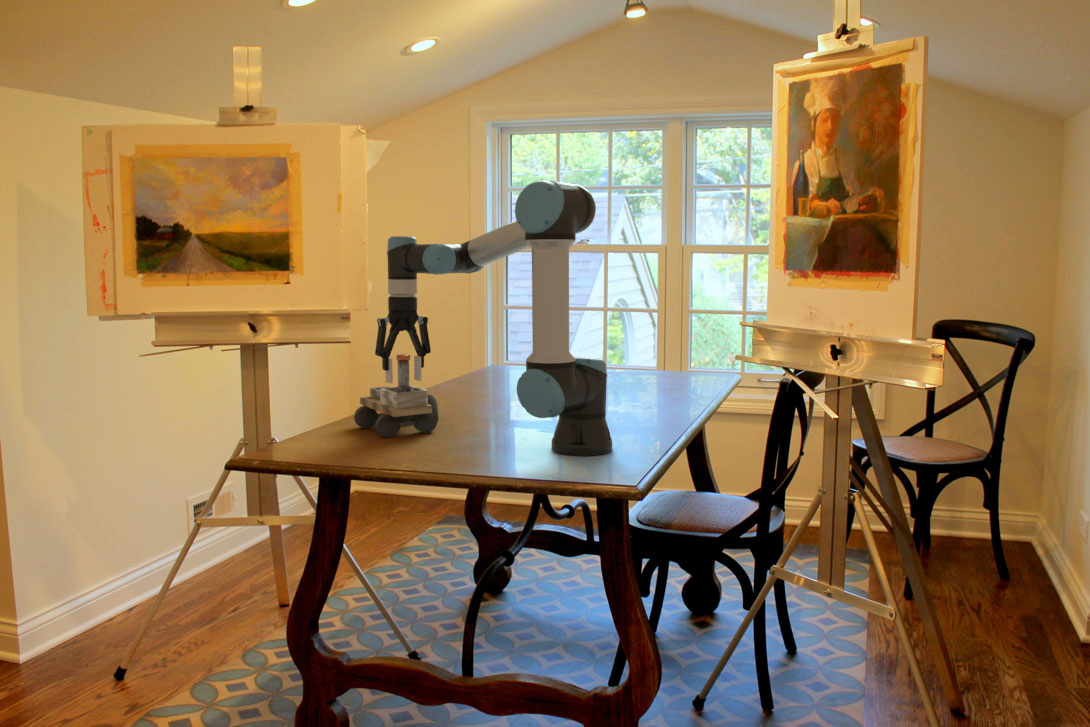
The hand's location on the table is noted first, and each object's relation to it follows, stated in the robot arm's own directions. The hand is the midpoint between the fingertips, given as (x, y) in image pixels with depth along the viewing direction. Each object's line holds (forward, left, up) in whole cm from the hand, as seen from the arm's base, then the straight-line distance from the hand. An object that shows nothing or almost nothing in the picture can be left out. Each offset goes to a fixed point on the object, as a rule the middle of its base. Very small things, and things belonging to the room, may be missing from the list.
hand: (403, 381), depth 233 cm
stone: (+15, -13, -15) cm, 25 cm away
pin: (0, 0, -6) cm, 6 cm away
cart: (+6, 0, -14) cm, 15 cm away
